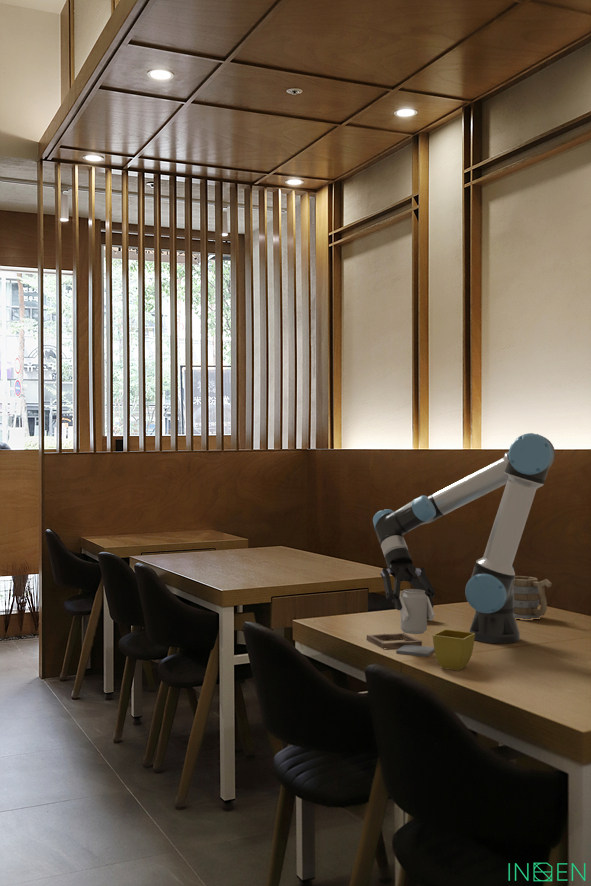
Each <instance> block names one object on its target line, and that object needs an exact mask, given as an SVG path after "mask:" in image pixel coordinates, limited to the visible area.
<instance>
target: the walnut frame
mask: <svg viewBox="0 0 591 886" xmlns="http://www.w3.org/2000/svg"><path fill="white" fill-rule="evenodd" d="M386 639H392V640H403V639H404V641H389V642H387V640H386ZM366 641H368V642H370V643H371V644H373V645H375V646H377V647H379V648H380V649H382V648H383V649H384V648H387V649H399V648H400V647H402V646H403V645H417V646H423V641H421V640H419V639H418V638H415V637H414V636H412V635H409V634H408V633H405V632H400V633H396V632H395V633H382V634H380V633H379V634H366ZM385 641H386V642H385ZM383 649H382V650H383Z"/></svg>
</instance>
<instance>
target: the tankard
mask: <svg viewBox="0 0 591 886" xmlns="http://www.w3.org/2000/svg"><path fill="white" fill-rule="evenodd" d="M552 585H553V584H552V582H551V581H550V580H549V579H548V578H545V579H543V580H541V581H539V580H538V578H537V577H533V576H526V575H523V576H522V575H515V577H514V617H515V618H523V619H531V618H539V617H540V616H541V617H543V616H545V614H546V611H547V609H548V602H547V597H546V591H545V589H546V588H545V587H547V588H551V587H552ZM539 607H540V608H539ZM538 608H539V609H538Z"/></svg>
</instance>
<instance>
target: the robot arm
mask: <svg viewBox="0 0 591 886" xmlns="http://www.w3.org/2000/svg"><path fill="white" fill-rule="evenodd" d="M555 459H556V450H555V447H554V445H553V443H552V442H551V441H550V440H549V439H548V438H546V437H545V436H543V435H541V434H538V433H533V432H530V433H524V434H521V435H519V436H518V437H516V438H515V439H514V440H513V441H512V443H511V444H510V446H509V448H508V451H507V452H505V453H504V455H503V457H502V458H500V459H498V460H497V461H494V462H492V463H491V464H489V465H487V466H485V467H483V468H481V469H479V470H477V471H475V472H474V473H471V474H469V475H467V476H465V477H464V478H462V479H459V480H458V481H455V482H454V483H451V484H450V485H448V486H446V487H444V488H443V489H440V490H438V491H437V492H435V493H432V494H431V495H429V496H427V495H420V496H419V497H416V498H414V499H413V500H412V501H410V502H407V504H405V505H404V506H402V507H400V508H399V509H397V510H395V511H394V510H392V509H389V508H388V509H383V510H379V511H377V512H376V513H375V514H374V515H373V518H372V522H373V527H374V531H375V534H376V536H377V540H378V542H379V544H380V549H381V550H382V553H383V556H384V560H385V563H386V566H387V568H386V567H382V569H381V571H380V576H381V578H382V579H383V581H382V582H383V586H384V593H385V598H386V600H387V601H390V600H391V603H392V604H394V605H395V608H396V610H397V611H399V613H400V617H401V616H402V619H403V622H406V620H407V619H408V617H409V615H408V612H407V609H406V606H405V603H404V600H403V598H402V597H401V596H400V593H401V584H402V583H401V582H408V583H409V584H410V585H412V587H414V588H413V589H419V590H424V591H425V594H426V595H427V615H428V618H429V619H428V621H433V619H434V618H435V616H436V613H435V611H434V602H433V599H434V597H435V595H436V594H437V593H436V591H435V588H434V586H433V584H432V583H431V581H430V579H429V578H428V575H427V574H426V569H425V567H423V566H421V567H420V568H419V567H416V566H415V565H414V563H413V559H412V556H411V554H410V551H409V548H408V545H407V543H406V540H405V538H404V535H405V534H408V533H409V532H411V531H412V530H414V529H416V528H418V527H420V526H421V525H425V524H426V525H427V524H430V523H431V524H432V523H433V522H435V521H436V520H438V519H439V518H441V517H443V516H445V515H447V514H449V513H451V512H453V511H455V510H456V509H458V508H461V507H462V506H463V507H464V506H465V505H467V504H469V503H472V502H473V501H474V500H477V499H479V498H481V497H483V496H485V495H487V494H488V493H491V492H493V491H495V490H497V489H499V488H501V487H502V486H504V485H505V487H504V490H503V493H502V496H501V500H500V503H499V506H498V509H497V513H496V515H495V518H494V521H493V525H492V528H491V531H490V535H489V538H488V540H487V544H486V547H485V551H484V553H483V556H482V557H481V558H478V559H476V560H475V564H474V567H473V570H472V573H471V576H470V578H469V579H468V581H467V582H466V585H465V589H464V591H465V593H464V594H465V598H466V601H467V602H468V604H469V605H470V607H471V608H472V609H474V610H475V612H474V615H473V619H472V621H471V624H470V628H469V632H470V633H475V638H474V641H477V642H480V643H481V642H482V643H489V644H512V643H513V642H514V643H517V641H518V642H519V641H521V640H520V637H521V636H520V635H521V634H520V630H519V627H518V623H517V620H515V617H514V577H515V576H516V573H515V569H514V566H513V563H514V561H515V557H516V554H517V551H518V548H519V546H520V542H521V539H522V535H523V532H524V531H525V530H524V529H525V526H526V522H527V521H528V517H529V514H530V511H531V508H532V504H533V502H534V498H535V495H536V491H537V490H538V489H539V488H541V487H543V486H544V485H545V482H546V479H547V476H548V473H549V469H550V468H551V467H552V465H553V464H554V462H555ZM390 575H391V576H392V577H394V581H393V584H394V585H393V586H394V587H392V581H391V576H390ZM514 643H513V644H514Z"/></svg>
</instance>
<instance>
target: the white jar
mask: <svg viewBox="0 0 591 886" xmlns="http://www.w3.org/2000/svg"><path fill="white" fill-rule="evenodd" d="M400 597H402V598H403V600H404V603H405V606H406V609H407V612H408V615H409V617H408V619H407V620H406V622H403V619H402V616H401V615H400V630H401V631H402V633H405V634H408V635H409V634H411V635H422V634H424V633H425V632H426V631H427V630H428V620H427V595H426V594H425V591H424V590H419V589H415V588H406V589H403V593H401V595H400Z"/></svg>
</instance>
